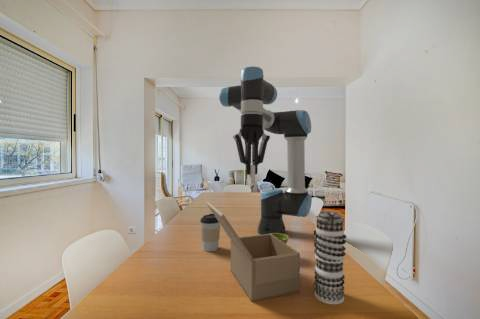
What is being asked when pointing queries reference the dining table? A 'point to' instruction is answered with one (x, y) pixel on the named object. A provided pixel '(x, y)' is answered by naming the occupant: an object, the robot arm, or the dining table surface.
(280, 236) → the plant pot
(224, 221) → the flap
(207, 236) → the coffee cup
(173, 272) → the dining table surface
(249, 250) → the carton
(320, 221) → the decorative candle
